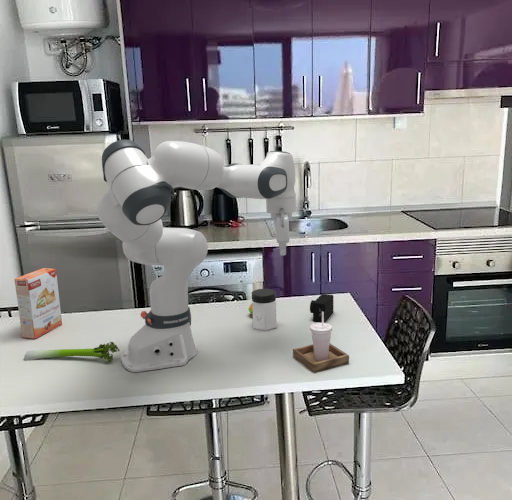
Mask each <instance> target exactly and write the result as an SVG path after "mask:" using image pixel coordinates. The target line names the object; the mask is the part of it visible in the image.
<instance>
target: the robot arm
mask: <svg viewBox="0 0 512 500" xmlns="http://www.w3.org/2000/svg"><path fill="white" fill-rule="evenodd" d="M295 167H296V166H295V161H294V157H293V155H292V154H291V153H290V152H287V151H284V150H283V151H282V150H270V151H267V153H266V157H264V159H263V160H262V161H261V162H259V163H258V164H243V163H237V162H235V163H230V164H227V165H224V160H223V157H222V156H221V154H220V152H217V151H216V150H215V149H212V148H211V147H208V146H205V145H202V144H198V143H194V142H189V141H181V140H166V141H163V142H161V143H160V144H158V145H157V146H156V147H155V149H154V151H153V152H152V156H151V157H150V158H148V157H147V155H146V152H145V151H144V149H143V148H142V147H141V146H140V145H139V144H138V143H137V142H135V141H133V140H131V139H119V140H116V141H114V142H112V143H110V144H109V145H107V147H105V149H104V150H103V152H102V155H101V168H102V175H103V181H104V182H106V183H107V185H108V191H107V193H105V194H104V195H102V197H101V198H100V199H99V201H98V204H97V206H96V213H97V214H96V215H97V217H98V219H99V221H100V222H101V224H102V225H103V226H104V227H105V228H106V229H107V230H108V231H109V232H110V233H111V234H112V235H113V236H115V237H116V238H117V239H119V240H120V241H122V245H121V246H122V250H123V251H122V252H123V254H124V256H125V258H126V259H127V260H128V261H130V262H133V263H136V264H141V265H146V266H147V265H148V266H151V265H152V266H163V269H164V272H163V275H161V276H159V277H157V278H156V279H154V280H153V281H152V282H151V284H150V286H149V288H148V289H149V290H148V291H149V303H150V310H149V312H148V313H147V311H146V310H143V311H141V313H140V317H141V318H142V319H143V320H144V323H145V324H144V325H143V326H142V327H141V328H139V330H137V332H135V333H134V334H133V335H131V336H130V338H129V340H128V346H127V349H128V350H126V351H124V352H123V353H122V354H121V357H120V362H121V364H122V366H123V368H125V370H127V371H129V372H132V373H140V372H148V371H153V370H154V371H155V370H159V369H166V368H168V369H169V368H174V367H175V368H176V367H180V366H185V365H187V363H188V362H189V360H191V359H192V358H194V357H195V356H196V355H197V353H198V349H197V347H196V344H195V340H194V336H193V333H192V327H191V325H192V313H191V308H190V307H189V281H190V277H191V275H192V274H193V271H194V270H195V269H196V268H197V267H198V266H199V265H200V264H201V263H203V262H204V261H205V259H206V257H207V255H208V250H209V246H208V245H209V244H208V240H207V238H206V236H205V235H204V234H203V232H201V231H199V230H195V229H191V228H186V227H166V226H165V227H164V226H163V225H164V224H163V221H162V218H163V217H164V216H165V214H166V213H167V211H168V210H169V208H170V206H171V202H172V201H173V200H174V198H175V189H174V188H176V187H180V188H182V189H183V188H184V189H189V190H196V191H197V190H198V191H208V190H213V189H215V188H218V189H220V190H221V191H222V192H223V193H224V194H226V195H227V196H228V197H229V198H233V199H237V198H239V199H241V198H242V199H243V198H244V199H255V200H257V199H258V200H266V201H265V203H266V205H265V207H266V209H265V210H266V213H268V214H270V218H271V219H273V224H274V230H275V231H274V232H275V238H276V243H277V244H278V247H279V255H280V256H286V255H287V244H288V243H290V220H289V219H291V218H292V217H293V214H294V213H296V212H297V201H296V200H297V199H296V198H297V196H296V191H295V185H296V168H295Z"/></svg>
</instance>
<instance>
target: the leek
mask: <svg viewBox="0 0 512 500" xmlns="http://www.w3.org/2000/svg"><path fill="white" fill-rule="evenodd" d="M118 352H120V348H119V346H117V344H115V342H113V341H110V342H107V343H104V344H102V343H100V344H99V346H96V347H94V348H72V349H71V348H67V349H63V348H62V349H60V348H59V349H46V350H45V349H43V350H42V349H41V350H28V351H26V352H25V354H24V356H23V360H24V361H35V360H36V361H37V360H40V359H51V358H52V359H53V358H60V357H61V358H65V357H94V358H99V359H102V360H104V361H106V362H107V363H112V361H113V360H114V358H113V357H114V355H113V353H118Z"/></svg>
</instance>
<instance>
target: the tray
mask: <svg viewBox="0 0 512 500" xmlns="http://www.w3.org/2000/svg"><path fill="white" fill-rule="evenodd" d="M292 358H294V359H295V360H296V361H298V363H300V364H302V366H303V367H306V368H307V369H308V370H309V371H311V373H314V374H315V373H318V372H322V371H326V370H330V369H334V368H337V367H341V366H345V365H349V363H350V355H349V354H348V353H346V352H344V351H343V350H341V349H339V348H338V347H336V346H335V345H334V344H332V343H330V345H329V353H328V359H327V360H324V361H319V360H316V359H315V355H314V348H313V343H312V344H308V345H305V346H301V347H300V346H299V347H297V348H293V349H292Z"/></svg>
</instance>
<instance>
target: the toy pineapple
mask: <svg viewBox="0 0 512 500" xmlns="http://www.w3.org/2000/svg"><path fill="white" fill-rule="evenodd" d="M248 312H249V313H250V314H251V315H252V316H253V308H252V303H250V305H249V307H248Z"/></svg>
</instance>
